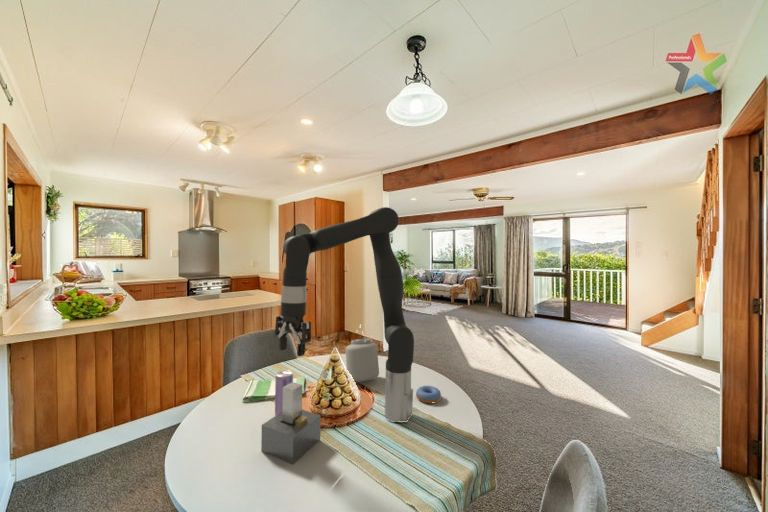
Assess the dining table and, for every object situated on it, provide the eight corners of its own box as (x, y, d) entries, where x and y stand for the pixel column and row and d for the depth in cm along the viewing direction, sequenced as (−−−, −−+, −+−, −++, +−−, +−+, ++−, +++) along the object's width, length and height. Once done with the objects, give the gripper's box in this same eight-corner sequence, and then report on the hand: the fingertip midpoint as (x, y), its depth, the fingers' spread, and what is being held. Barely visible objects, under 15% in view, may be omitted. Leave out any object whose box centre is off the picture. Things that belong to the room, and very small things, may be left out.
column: (301, 443, 90) (302, 384, 90) (292, 451, 86) (292, 390, 86) (291, 439, 91) (292, 382, 91) (281, 447, 88) (282, 387, 88)
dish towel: (304, 398, 119) (304, 391, 119) (241, 405, 114) (241, 397, 113) (304, 380, 137) (304, 374, 137) (250, 384, 131) (250, 378, 131)
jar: (338, 374, 142) (339, 323, 142) (366, 369, 150) (366, 320, 149) (355, 390, 126) (356, 332, 126) (384, 383, 133) (385, 328, 133)
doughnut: (445, 402, 116) (444, 390, 117) (422, 407, 113) (421, 395, 114) (434, 393, 126) (433, 382, 126) (412, 397, 123) (412, 386, 123)
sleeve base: (320, 440, 92) (320, 411, 91) (292, 465, 81) (293, 432, 81) (290, 430, 97) (291, 402, 97) (261, 452, 86) (261, 420, 86)
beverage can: (286, 420, 102) (287, 377, 102) (271, 418, 104) (272, 375, 104) (295, 411, 108) (296, 370, 108) (280, 409, 110) (281, 369, 109)
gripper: (318, 301, 90) (316, 354, 90) (289, 296, 98) (287, 345, 98) (299, 304, 84) (296, 361, 84) (269, 298, 92) (266, 350, 92)
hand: (291, 352), depth 91 cm, fingers open, 8 cm apart
